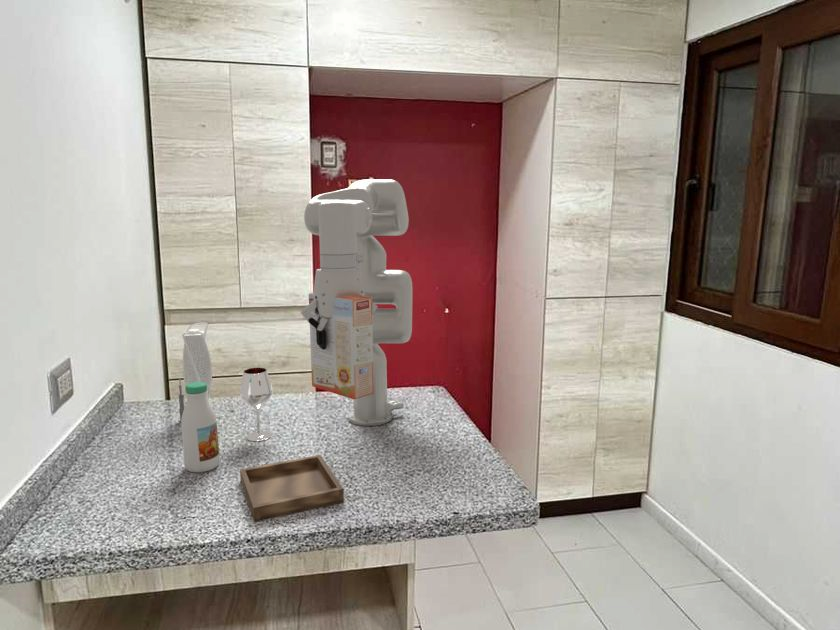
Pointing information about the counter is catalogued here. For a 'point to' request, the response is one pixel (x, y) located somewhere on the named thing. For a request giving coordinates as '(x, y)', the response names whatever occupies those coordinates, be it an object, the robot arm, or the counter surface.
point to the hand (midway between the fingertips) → (341, 345)
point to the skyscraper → (195, 362)
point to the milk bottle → (199, 430)
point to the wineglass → (256, 396)
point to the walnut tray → (290, 487)
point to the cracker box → (345, 348)
